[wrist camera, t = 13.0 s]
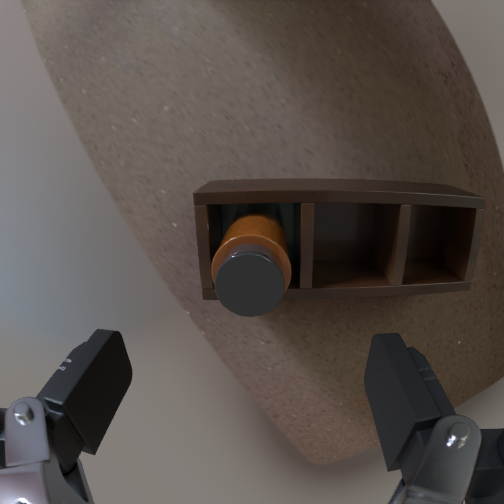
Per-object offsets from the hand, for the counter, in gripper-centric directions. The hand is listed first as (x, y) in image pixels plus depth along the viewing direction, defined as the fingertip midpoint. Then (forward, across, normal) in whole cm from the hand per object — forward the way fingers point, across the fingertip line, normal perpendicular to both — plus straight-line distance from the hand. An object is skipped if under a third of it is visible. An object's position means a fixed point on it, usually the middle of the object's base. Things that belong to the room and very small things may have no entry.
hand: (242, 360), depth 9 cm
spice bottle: (+15, 0, 0) cm, 15 cm away
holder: (+16, -6, 0) cm, 17 cm away
